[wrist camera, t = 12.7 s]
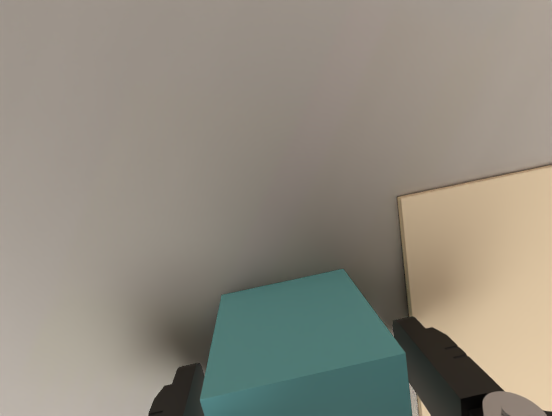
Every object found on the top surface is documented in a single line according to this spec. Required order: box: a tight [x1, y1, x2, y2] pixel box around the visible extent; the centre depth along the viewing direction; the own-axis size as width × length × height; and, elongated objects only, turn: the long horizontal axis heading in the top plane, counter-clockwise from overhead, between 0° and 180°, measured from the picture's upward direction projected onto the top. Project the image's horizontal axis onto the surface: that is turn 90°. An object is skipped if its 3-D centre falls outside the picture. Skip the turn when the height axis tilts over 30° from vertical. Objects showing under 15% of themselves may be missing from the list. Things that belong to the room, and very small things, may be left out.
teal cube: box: [200, 269, 412, 416], centre depth 10 cm, size 5×5×5 cm
